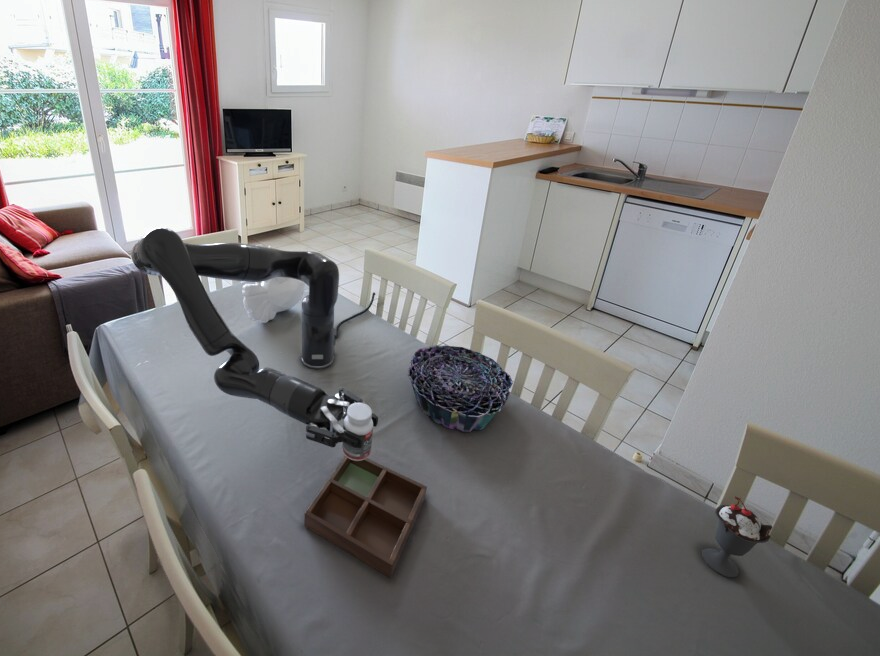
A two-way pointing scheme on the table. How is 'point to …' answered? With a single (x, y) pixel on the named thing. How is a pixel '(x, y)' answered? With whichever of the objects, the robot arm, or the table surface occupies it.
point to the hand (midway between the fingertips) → (369, 432)
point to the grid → (367, 512)
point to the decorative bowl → (458, 386)
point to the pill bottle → (358, 430)
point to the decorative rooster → (271, 297)
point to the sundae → (734, 537)
